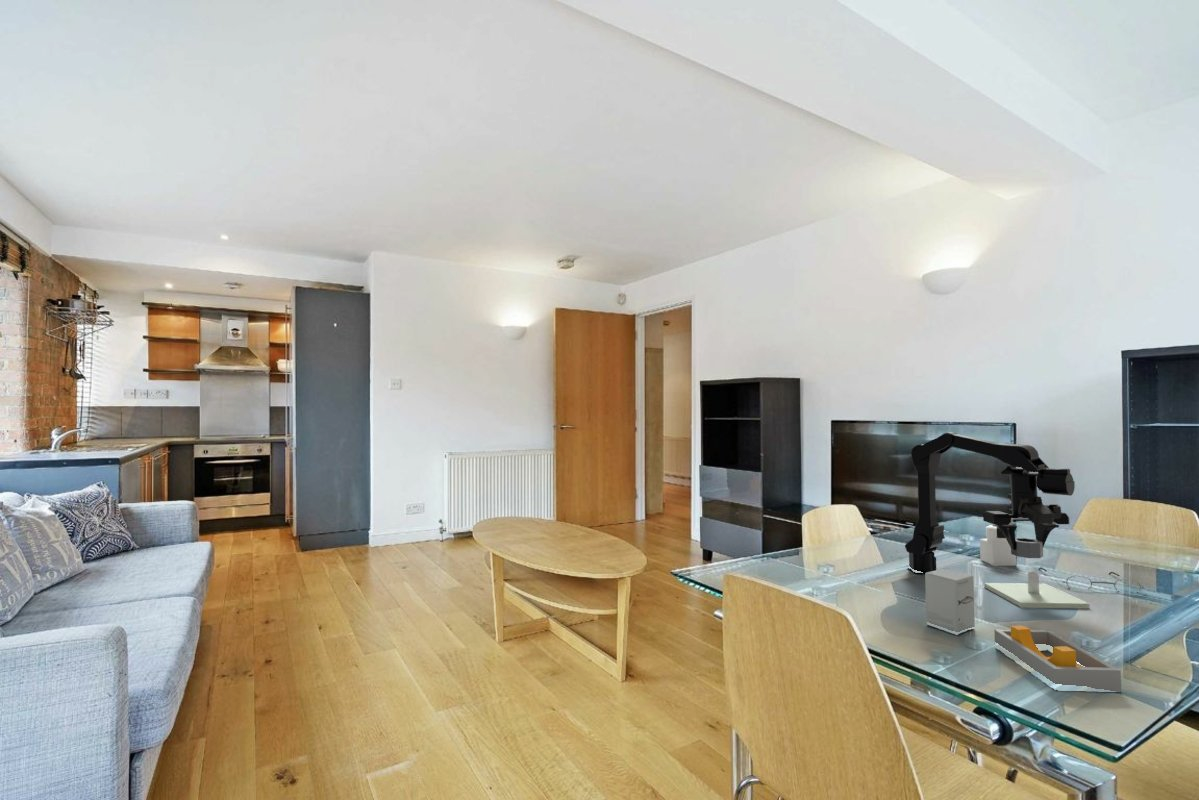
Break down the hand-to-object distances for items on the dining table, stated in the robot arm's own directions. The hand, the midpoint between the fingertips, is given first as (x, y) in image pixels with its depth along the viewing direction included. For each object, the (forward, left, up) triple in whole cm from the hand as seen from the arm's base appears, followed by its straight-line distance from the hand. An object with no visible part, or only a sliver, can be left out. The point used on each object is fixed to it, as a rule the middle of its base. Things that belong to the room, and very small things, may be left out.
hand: (1026, 549), depth 150 cm
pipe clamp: (-24, -44, -13) cm, 52 cm away
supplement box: (-32, -23, -13) cm, 41 cm away
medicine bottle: (+10, +32, -13) cm, 35 cm away
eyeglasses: (+24, +14, -13) cm, 31 cm away
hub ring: (0, 0, -2) cm, 2 cm away
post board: (0, -1, -12) cm, 12 cm away
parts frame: (-23, -43, -12) cm, 51 cm away
